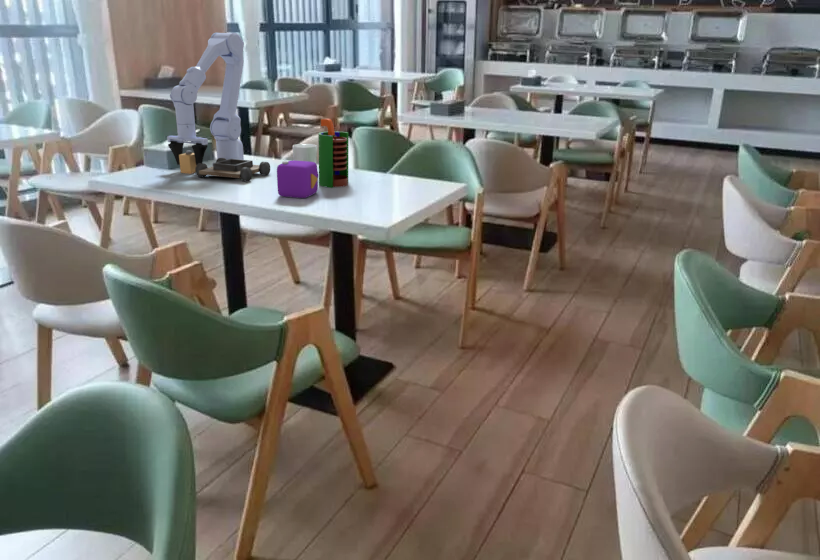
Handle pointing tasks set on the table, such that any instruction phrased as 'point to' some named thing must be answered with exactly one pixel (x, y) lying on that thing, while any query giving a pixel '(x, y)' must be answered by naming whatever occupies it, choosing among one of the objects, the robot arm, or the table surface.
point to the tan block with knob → (187, 162)
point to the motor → (333, 156)
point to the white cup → (305, 152)
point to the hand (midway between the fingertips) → (189, 165)
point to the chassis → (233, 169)
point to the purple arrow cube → (297, 179)
